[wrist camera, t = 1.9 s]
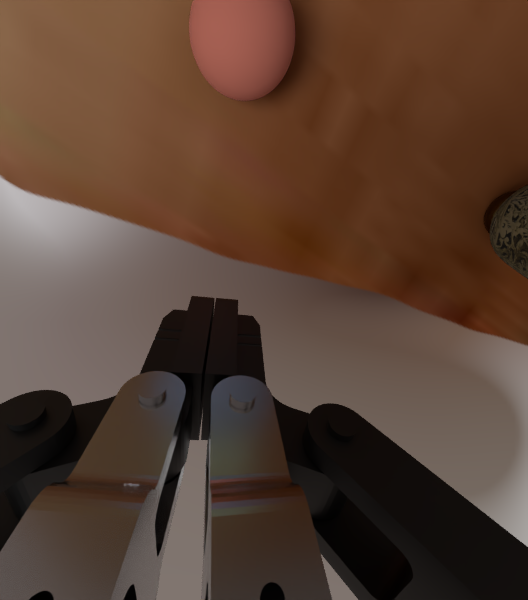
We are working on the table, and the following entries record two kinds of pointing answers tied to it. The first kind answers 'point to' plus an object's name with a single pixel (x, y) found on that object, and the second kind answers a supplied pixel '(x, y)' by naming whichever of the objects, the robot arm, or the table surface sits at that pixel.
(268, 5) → the ball
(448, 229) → the table surface
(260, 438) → the robot arm
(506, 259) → the cup
